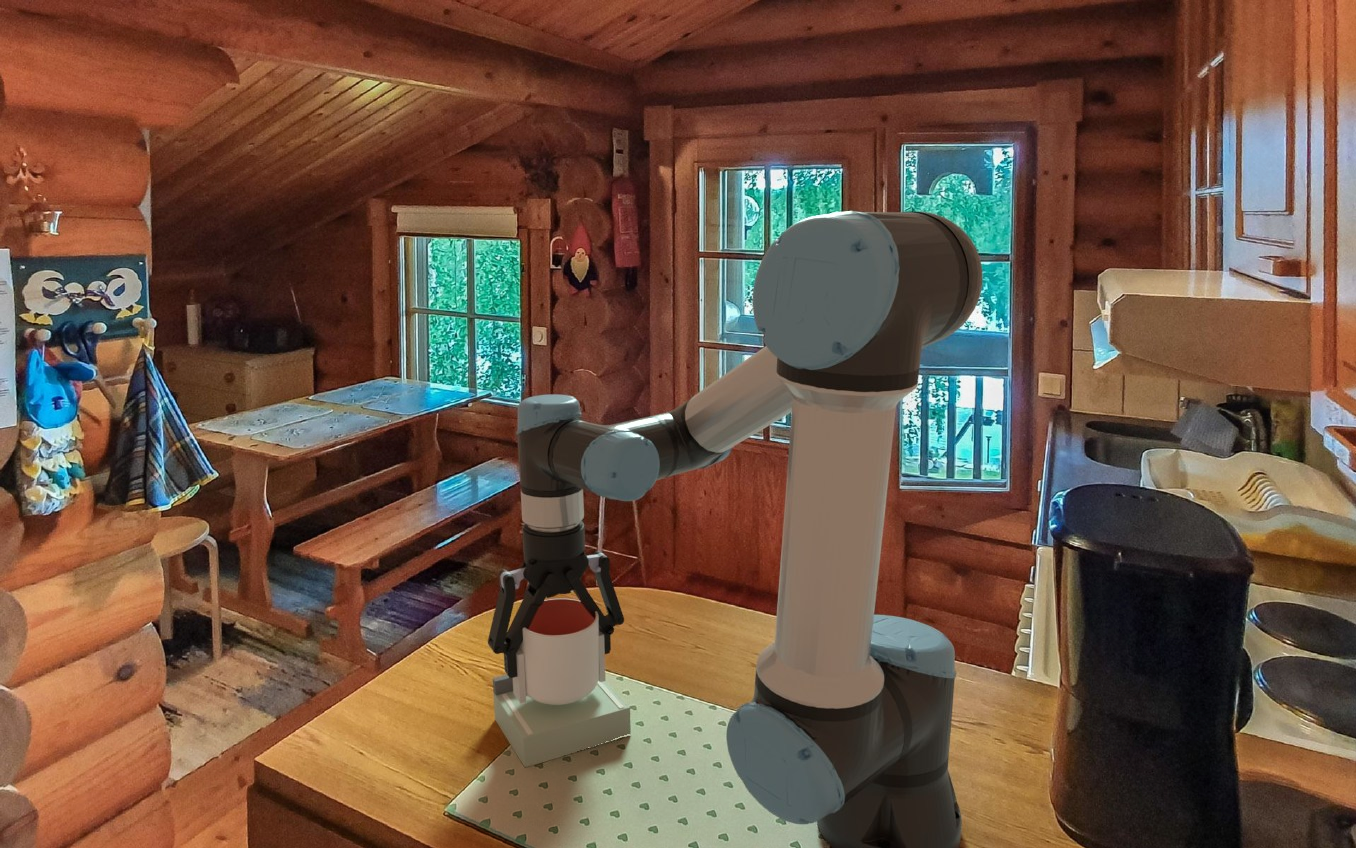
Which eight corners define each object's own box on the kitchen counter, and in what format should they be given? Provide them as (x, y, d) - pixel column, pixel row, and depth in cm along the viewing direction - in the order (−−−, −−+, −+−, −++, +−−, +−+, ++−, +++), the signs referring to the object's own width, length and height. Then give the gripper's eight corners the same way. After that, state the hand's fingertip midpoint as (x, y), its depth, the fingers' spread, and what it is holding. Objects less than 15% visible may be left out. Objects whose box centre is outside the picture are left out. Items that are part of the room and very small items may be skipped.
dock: (630, 735, 115) (629, 693, 114) (524, 767, 109) (522, 722, 107) (593, 693, 126) (592, 653, 124) (495, 719, 119) (492, 678, 118)
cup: (607, 671, 120) (607, 602, 117) (585, 714, 110) (585, 641, 108) (535, 662, 122) (534, 594, 119) (508, 704, 112) (505, 631, 109)
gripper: (624, 499, 119) (627, 654, 124) (453, 528, 109) (464, 696, 114) (649, 515, 113) (652, 678, 118) (470, 548, 102) (481, 725, 107)
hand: (560, 687), depth 116 cm, fingers closed on cup, 10 cm apart
